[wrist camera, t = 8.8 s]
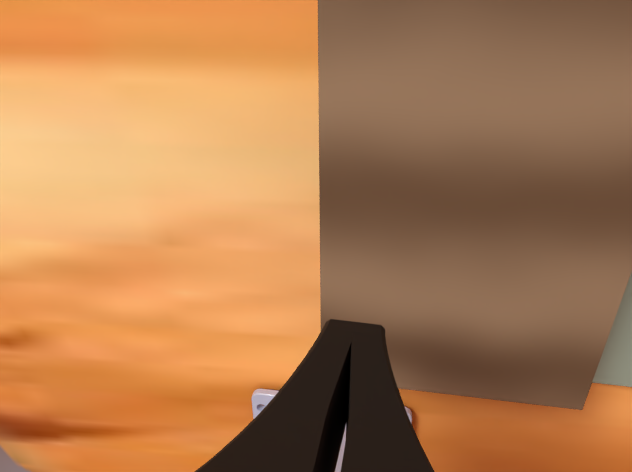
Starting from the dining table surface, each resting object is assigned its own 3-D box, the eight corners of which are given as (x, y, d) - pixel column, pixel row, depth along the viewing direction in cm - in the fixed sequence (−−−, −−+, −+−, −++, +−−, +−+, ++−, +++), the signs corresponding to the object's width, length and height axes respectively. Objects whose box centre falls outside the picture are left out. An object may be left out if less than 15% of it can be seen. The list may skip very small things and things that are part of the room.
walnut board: (562, 354, 22) (582, 409, 19) (331, 331, 23) (321, 379, 21) (697, -87, 14) (762, -93, 11) (333, -79, 15) (317, -83, 13)
